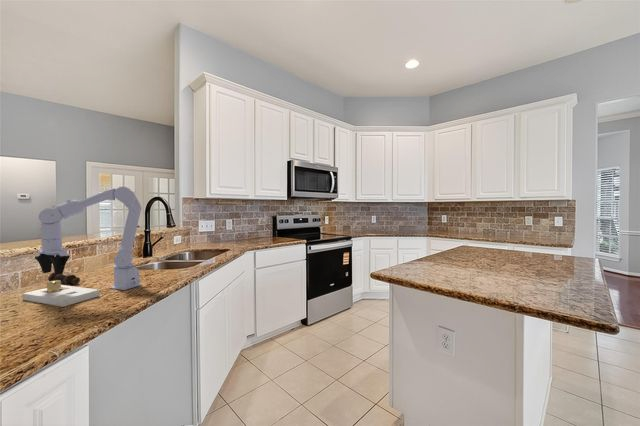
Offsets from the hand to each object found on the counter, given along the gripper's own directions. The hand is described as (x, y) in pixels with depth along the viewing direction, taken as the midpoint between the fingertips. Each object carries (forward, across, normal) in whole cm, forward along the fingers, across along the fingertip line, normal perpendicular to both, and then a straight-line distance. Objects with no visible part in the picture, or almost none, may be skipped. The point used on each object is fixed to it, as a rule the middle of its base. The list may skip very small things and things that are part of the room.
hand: (52, 273), depth 107 cm
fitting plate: (+9, +5, 0) cm, 11 cm away
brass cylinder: (+9, 0, 0) cm, 9 cm away
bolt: (+10, -18, +14) cm, 25 cm away
